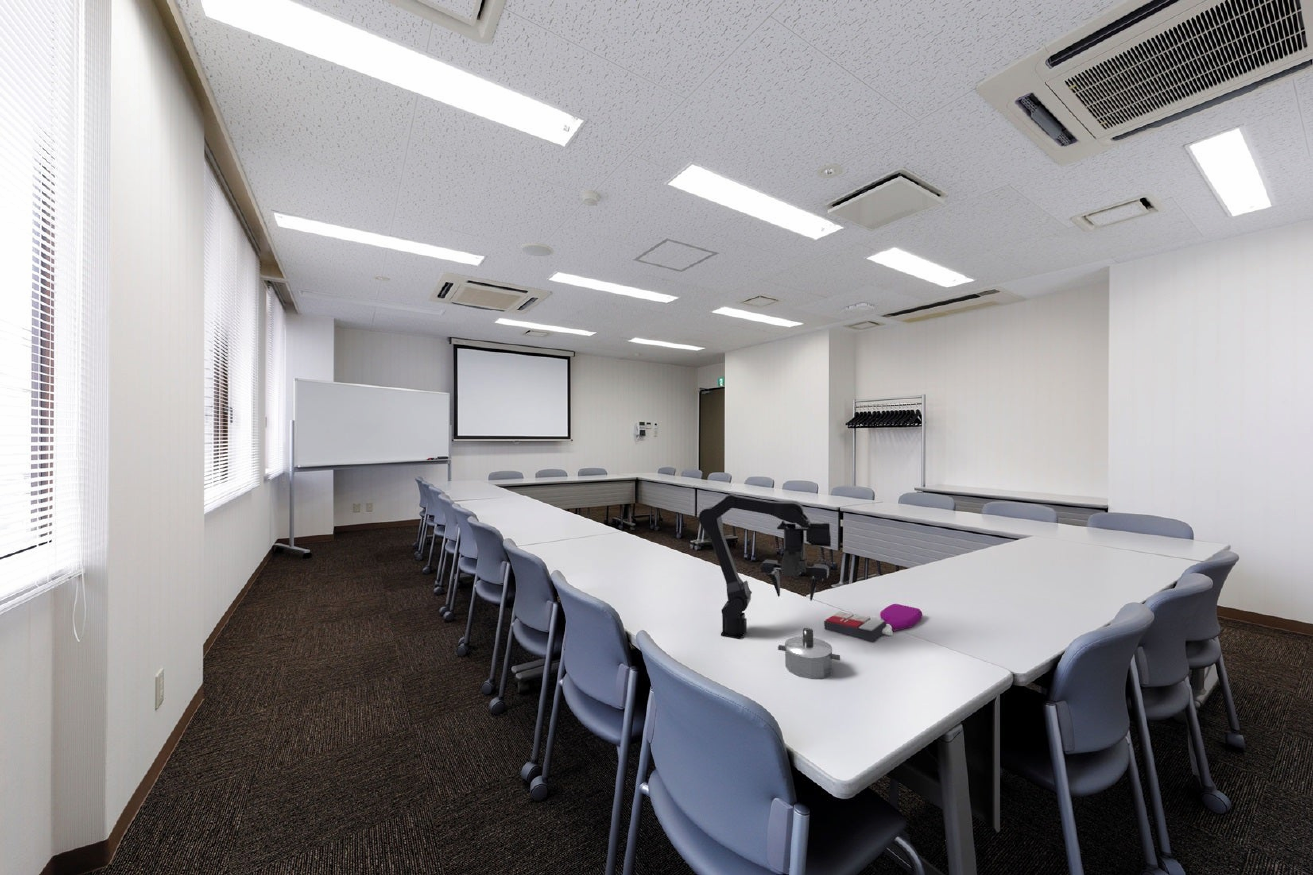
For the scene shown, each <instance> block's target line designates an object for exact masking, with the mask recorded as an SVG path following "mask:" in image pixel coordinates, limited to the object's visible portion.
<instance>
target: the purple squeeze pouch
mask: <svg viewBox="0 0 1313 875" xmlns="http://www.w3.org/2000/svg"><path fill="white" fill-rule="evenodd" d="M879 616H880V618H881V620H884V621H885V622H886V627H885V628H884V629H883V631H882V633H883V634H884V635H888V636H893V634H894V632H895V631H898V630H904V629H909V628H911V627H913V626H915V625H917V624H918V623H919V622H920V621H921V619H922V617H923V612H922V610H921V609H920V608H918V607H913V606H908V605H903V604H899V603H892V604H890V605H888V606H886V607H885V608H883V609H882V610H881V611H880V613H879ZM893 631H894V632H893Z"/></svg>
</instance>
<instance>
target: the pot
mask: <svg viewBox="0 0 1313 875" xmlns="http://www.w3.org/2000/svg"><path fill="white" fill-rule="evenodd" d="M777 650H778V651H782V652H784V656H785V660H784V661H785V662H784V663H785V668H786V669H787V670H788V672H789V673H791V674H793V675H795V676H797V677H800V678H805V679H810V680H817V679H818V680H819V679H826V678H827V677H829V676H831V675H832V673H833V660H835V661H840V660H841V655H840V654H835V653H832V654H831V655H830V656H828V657H825V658H818V659H812V658H804V657H800V656H796V655H794V654H792V653H790V652H788V651H787V650H786V648H785V645H782V644H778V646H777Z"/></svg>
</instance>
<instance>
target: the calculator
mask: <svg viewBox="0 0 1313 875" xmlns="http://www.w3.org/2000/svg"><path fill="white" fill-rule="evenodd" d="M823 626H824V627H823V628H824V630H825V631H829V632H833V633H836V634H841V635H843V636H847V637H851V638H854V639H858V640H861V641H865V642H869V643H872V644H873V643H874V644H875V642H877V641H878V640H879V639H881V638H882V637H883V636H884V635H885V634H883V633H882V631H883V629H884V628H885V627H886V622H885V621H884V620H883V619H878V618H873V617H872V618H871V616H865V615H860V614H853V613H850V612H849V613H848V612H844V611H838V612H836V613H835V614H833V615H831V616H830V617H829V616H828V618H826V619H825V620H824V621H823Z"/></svg>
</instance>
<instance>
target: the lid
mask: <svg viewBox="0 0 1313 875" xmlns="http://www.w3.org/2000/svg"><path fill="white" fill-rule="evenodd" d="M784 646H785V648H786V650H787V651H788V652H790V653H792V654H794V655H796V656H800V657H804V658H812V659H818V658H825V657H828V656H830V655H831V654H833V647H832V645H831V644H830V643H829V642H827V641H825V640H823V639H819V638H816V637H814V629H813V628H809V627H803V628H802V636H793V637H790V638H789V637H788V638H787V639H786V640H785V641H784Z"/></svg>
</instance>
